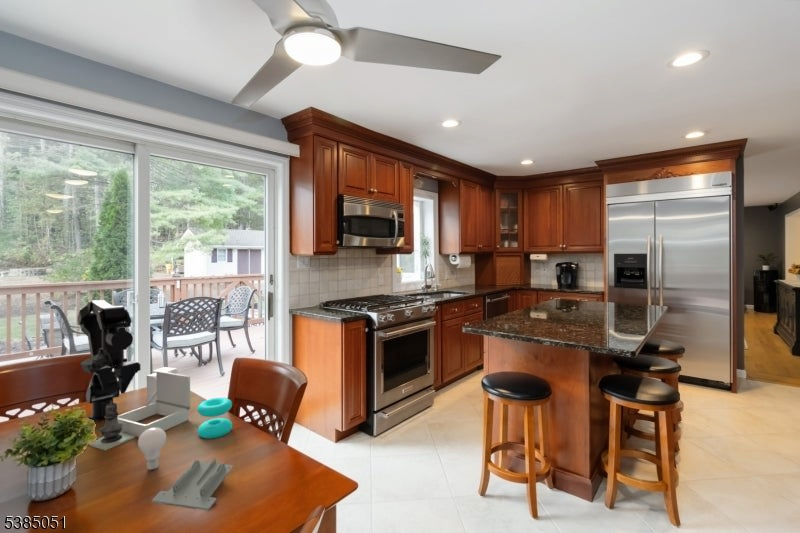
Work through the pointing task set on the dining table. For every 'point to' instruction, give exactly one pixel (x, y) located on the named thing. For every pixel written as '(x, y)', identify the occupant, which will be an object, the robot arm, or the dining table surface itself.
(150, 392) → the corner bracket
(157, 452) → the lightbulb
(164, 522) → the dining table surface
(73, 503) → the dining table surface
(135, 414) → the case
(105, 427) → the dark grey chess piece
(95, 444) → the coaster
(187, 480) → the metal bracket
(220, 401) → the donuts
